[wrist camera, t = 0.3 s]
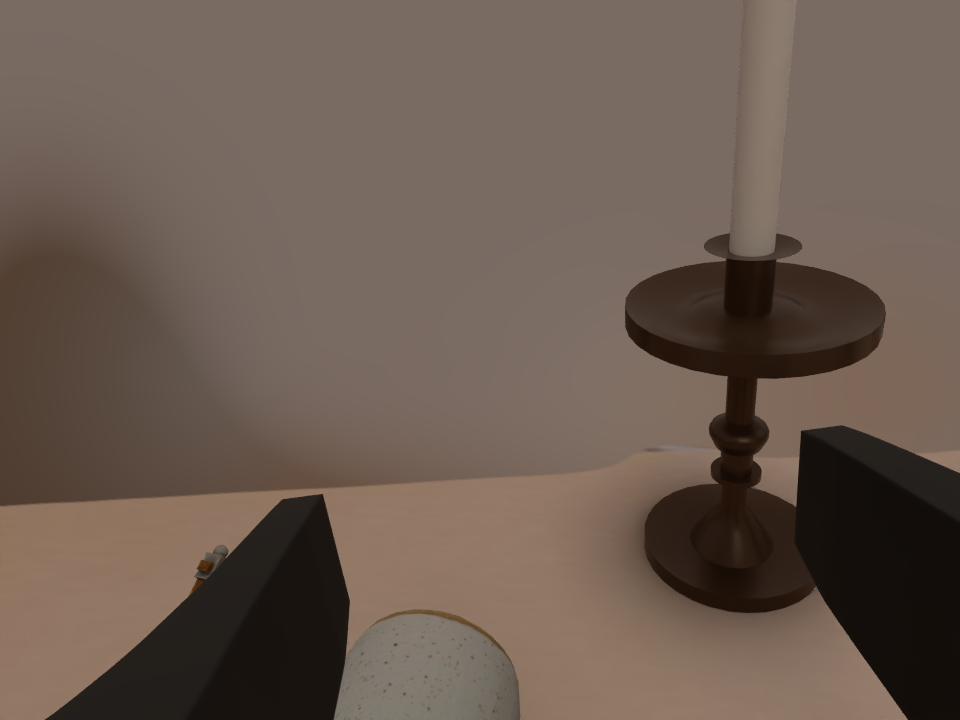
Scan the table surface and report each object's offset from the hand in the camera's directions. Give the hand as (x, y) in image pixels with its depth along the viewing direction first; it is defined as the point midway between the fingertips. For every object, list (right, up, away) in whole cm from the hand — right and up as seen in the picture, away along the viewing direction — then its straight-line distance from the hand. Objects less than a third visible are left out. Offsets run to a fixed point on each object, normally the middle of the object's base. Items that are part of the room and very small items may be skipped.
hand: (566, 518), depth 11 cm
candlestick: (+12, -8, +28) cm, 31 cm away
